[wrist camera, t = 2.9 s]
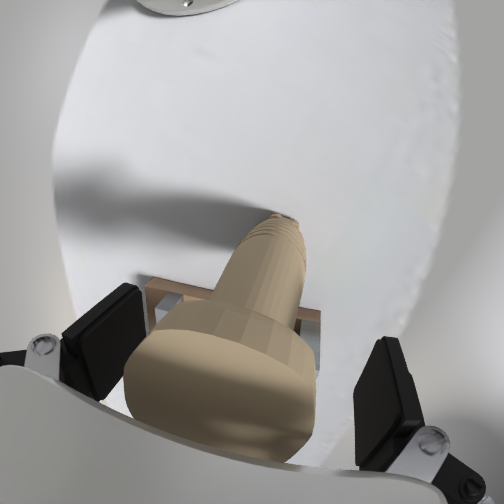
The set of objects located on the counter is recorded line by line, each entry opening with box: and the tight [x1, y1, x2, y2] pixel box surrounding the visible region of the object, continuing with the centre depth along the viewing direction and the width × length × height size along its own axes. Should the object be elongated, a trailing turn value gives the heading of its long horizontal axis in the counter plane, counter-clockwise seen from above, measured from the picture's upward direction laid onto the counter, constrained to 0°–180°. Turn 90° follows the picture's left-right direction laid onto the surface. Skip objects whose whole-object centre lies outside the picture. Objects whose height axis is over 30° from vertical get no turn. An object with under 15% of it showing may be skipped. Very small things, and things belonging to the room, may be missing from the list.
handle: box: [123, 213, 316, 463], centre depth 13 cm, size 5×6×15 cm
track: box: [145, 277, 321, 378], centre depth 23 cm, size 19×14×6 cm
